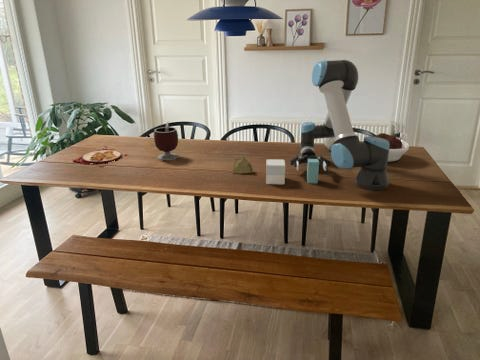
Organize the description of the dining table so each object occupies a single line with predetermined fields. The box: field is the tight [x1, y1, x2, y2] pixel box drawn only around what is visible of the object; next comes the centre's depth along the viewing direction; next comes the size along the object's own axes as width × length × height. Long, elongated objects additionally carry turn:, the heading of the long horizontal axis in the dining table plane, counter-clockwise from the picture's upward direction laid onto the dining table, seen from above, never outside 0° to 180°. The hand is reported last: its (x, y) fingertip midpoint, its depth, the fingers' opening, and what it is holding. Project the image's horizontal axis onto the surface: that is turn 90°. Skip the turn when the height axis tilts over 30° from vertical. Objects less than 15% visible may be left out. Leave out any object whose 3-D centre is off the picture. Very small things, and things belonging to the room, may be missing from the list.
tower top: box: [265, 159, 286, 176], centre depth 189 cm, size 9×9×5 cm
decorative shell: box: [323, 137, 335, 151], centre depth 236 cm, size 18×18×10 cm
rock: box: [231, 153, 254, 175], centre depth 202 cm, size 11×9×10 cm
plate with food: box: [72, 145, 128, 168], centre depth 229 cm, size 24×26×3 cm
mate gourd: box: [153, 121, 179, 161], centre depth 226 cm, size 16×14×20 cm
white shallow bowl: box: [371, 132, 410, 162], centre depth 218 cm, size 25×25×15 cm
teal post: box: [306, 159, 320, 184], centre depth 188 cm, size 5×5×11 cm
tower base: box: [265, 174, 286, 185], centre depth 191 cm, size 9×9×5 cm
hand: (311, 168), depth 190 cm, fingers open, 13 cm apart
